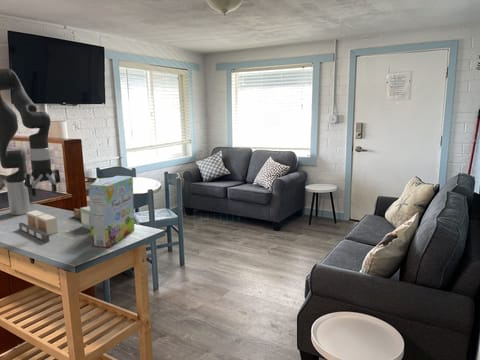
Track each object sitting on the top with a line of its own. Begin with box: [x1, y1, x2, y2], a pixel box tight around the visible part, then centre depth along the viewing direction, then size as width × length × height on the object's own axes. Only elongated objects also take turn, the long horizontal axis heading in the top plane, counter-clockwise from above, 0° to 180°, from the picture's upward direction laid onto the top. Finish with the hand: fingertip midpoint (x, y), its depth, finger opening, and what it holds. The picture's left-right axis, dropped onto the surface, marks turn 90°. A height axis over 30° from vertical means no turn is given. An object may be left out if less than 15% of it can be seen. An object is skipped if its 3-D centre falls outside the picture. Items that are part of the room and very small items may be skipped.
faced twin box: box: [26, 210, 46, 230], centre depth 169 cm, size 5×9×7 cm, turn 53°
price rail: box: [18, 222, 50, 243], centre depth 158 cm, size 26×2×3 cm, turn 53°
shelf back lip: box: [73, 208, 81, 219], centre depth 179 cm, size 26×1×4 cm, turn 53°
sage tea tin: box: [79, 205, 91, 231], centre depth 170 cm, size 8×5×9 cm, turn 53°
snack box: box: [88, 175, 135, 248], centre depth 153 cm, size 22×9×26 cm, turn 168°
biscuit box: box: [37, 213, 59, 236], centre depth 163 cm, size 5×9×7 cm, turn 52°
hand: (44, 194), depth 160 cm, fingers open, 8 cm apart
